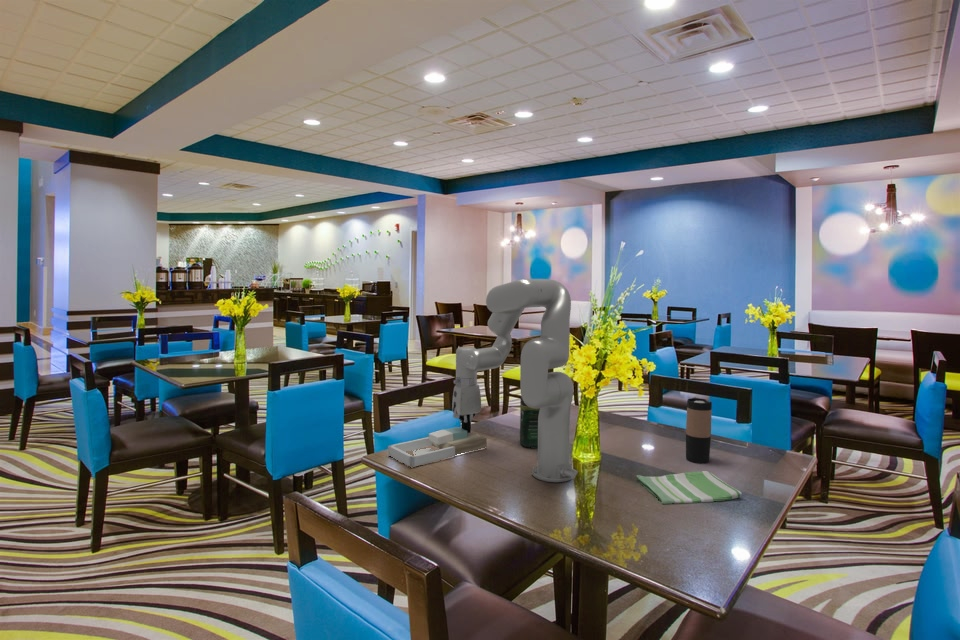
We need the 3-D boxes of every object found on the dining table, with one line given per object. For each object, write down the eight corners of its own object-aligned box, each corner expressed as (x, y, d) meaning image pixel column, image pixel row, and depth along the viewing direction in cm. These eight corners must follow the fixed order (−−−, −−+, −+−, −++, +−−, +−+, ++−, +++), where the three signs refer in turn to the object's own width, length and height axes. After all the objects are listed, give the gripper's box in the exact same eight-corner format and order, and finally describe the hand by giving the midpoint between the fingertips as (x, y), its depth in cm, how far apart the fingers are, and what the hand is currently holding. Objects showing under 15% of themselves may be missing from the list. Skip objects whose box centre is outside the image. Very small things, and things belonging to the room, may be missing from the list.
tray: (455, 457, 175) (455, 447, 175) (411, 468, 164) (411, 457, 164) (430, 446, 186) (430, 436, 186) (388, 455, 176) (388, 445, 176)
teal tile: (467, 437, 183) (467, 430, 183) (453, 440, 180) (453, 433, 180) (457, 433, 188) (457, 426, 188) (443, 436, 185) (443, 429, 184)
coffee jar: (544, 448, 185) (545, 396, 183) (522, 448, 184) (523, 397, 183) (539, 440, 194) (539, 390, 193) (518, 440, 194) (518, 391, 192)
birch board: (486, 448, 184) (486, 437, 184) (454, 456, 175) (454, 445, 175) (462, 439, 195) (462, 428, 195) (431, 446, 186) (431, 435, 186)
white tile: (453, 440, 180) (452, 433, 179) (438, 444, 176) (438, 437, 176) (443, 436, 184) (443, 429, 184) (429, 440, 181) (428, 433, 181)
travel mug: (683, 461, 172) (685, 401, 170) (686, 454, 178) (688, 397, 177) (709, 465, 168) (711, 404, 167) (710, 458, 175) (713, 399, 173)
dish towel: (634, 481, 156) (634, 472, 156) (708, 478, 159) (708, 469, 158) (662, 506, 138) (662, 496, 138) (744, 502, 141) (744, 492, 141)
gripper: (455, 385, 178) (455, 438, 179) (489, 380, 187) (489, 431, 188) (443, 382, 184) (443, 433, 185) (476, 377, 193) (476, 426, 194)
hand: (466, 432), depth 187 cm, fingers closed
